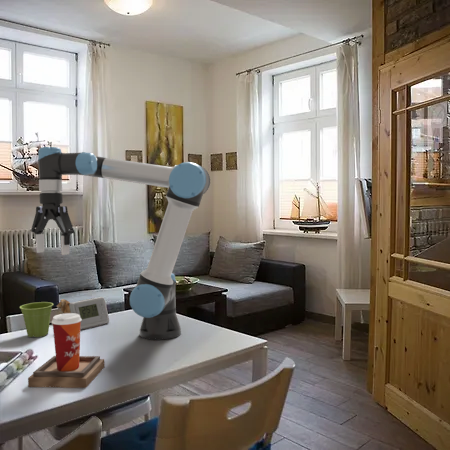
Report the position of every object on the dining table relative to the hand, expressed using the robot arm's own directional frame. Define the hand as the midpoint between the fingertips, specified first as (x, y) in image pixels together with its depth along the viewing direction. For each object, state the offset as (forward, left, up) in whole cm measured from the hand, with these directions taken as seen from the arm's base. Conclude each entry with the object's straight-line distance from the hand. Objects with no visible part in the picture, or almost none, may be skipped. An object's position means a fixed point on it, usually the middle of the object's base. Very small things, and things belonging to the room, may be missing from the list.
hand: (52, 253), depth 172 cm
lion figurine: (+6, -29, -32) cm, 44 cm away
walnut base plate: (-17, +32, -32) cm, 48 cm away
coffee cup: (-17, +32, -29) cm, 47 cm away
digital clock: (-5, -23, -32) cm, 40 cm away
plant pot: (+11, -10, -32) cm, 35 cm away
